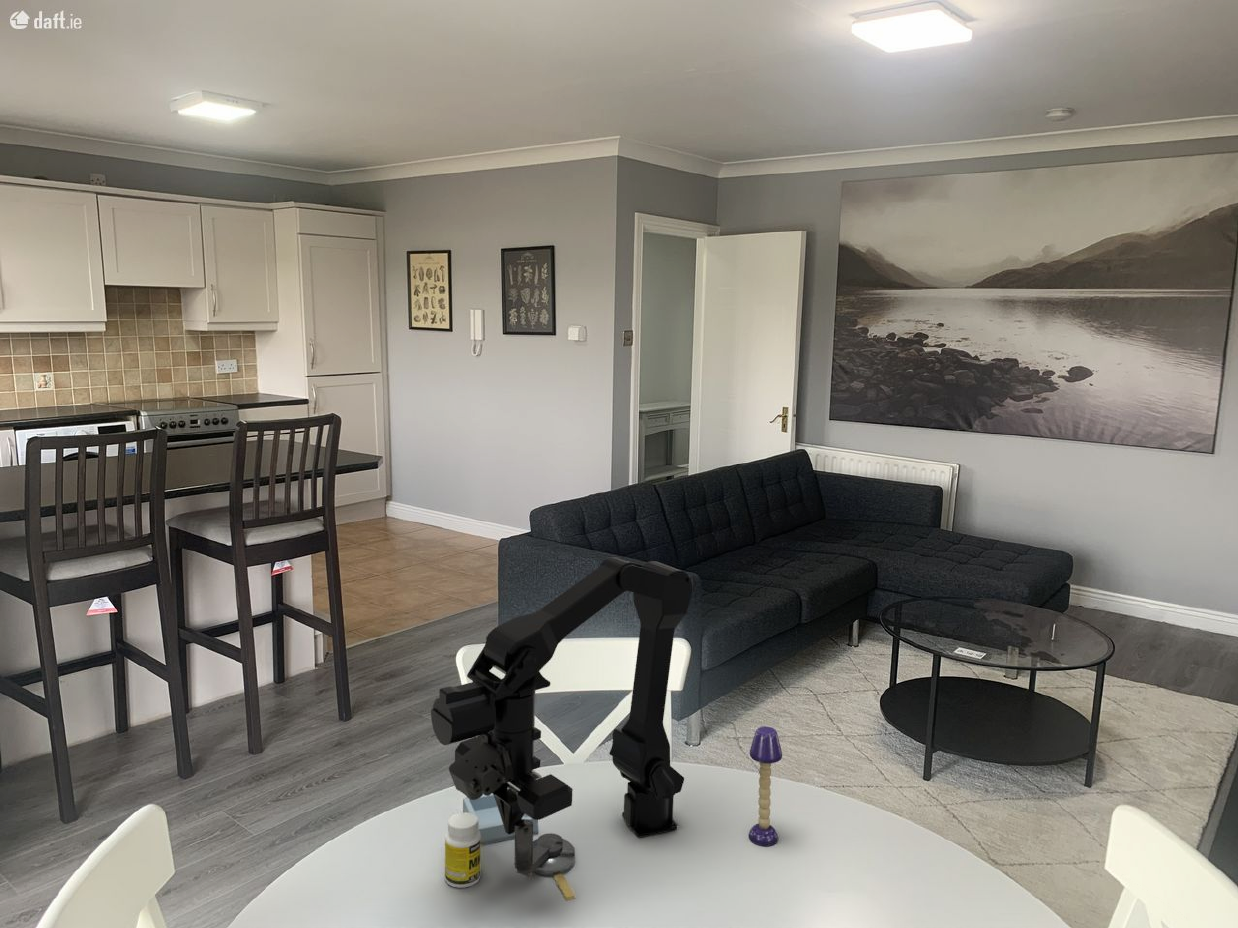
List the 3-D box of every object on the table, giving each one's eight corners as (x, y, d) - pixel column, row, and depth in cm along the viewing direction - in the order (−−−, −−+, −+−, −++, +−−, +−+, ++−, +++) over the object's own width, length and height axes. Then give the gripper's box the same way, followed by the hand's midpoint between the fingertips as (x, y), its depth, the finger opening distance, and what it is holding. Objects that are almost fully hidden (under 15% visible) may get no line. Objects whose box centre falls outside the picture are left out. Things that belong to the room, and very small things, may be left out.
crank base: (565, 842, 129) (565, 832, 129) (595, 893, 118) (596, 882, 118) (518, 852, 127) (518, 842, 126) (544, 905, 115) (544, 894, 115)
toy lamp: (741, 841, 131) (747, 733, 128) (749, 824, 135) (755, 720, 132) (774, 849, 129) (780, 740, 126) (781, 832, 133) (787, 726, 130)
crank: (545, 838, 127) (546, 791, 126) (567, 845, 125) (568, 798, 124) (507, 874, 118) (507, 824, 117) (529, 882, 117) (530, 832, 116)
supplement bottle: (473, 891, 118) (473, 832, 116) (439, 885, 119) (439, 827, 117) (485, 869, 122) (486, 812, 121) (453, 864, 123) (452, 808, 122)
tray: (520, 802, 139) (520, 787, 139) (537, 833, 131) (538, 817, 131) (462, 813, 136) (462, 797, 136) (477, 845, 128) (477, 829, 127)
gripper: (420, 714, 118) (420, 823, 121) (503, 771, 105) (501, 892, 108) (490, 692, 126) (489, 795, 128) (576, 743, 112) (573, 856, 115)
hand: (510, 832), depth 120 cm, fingers closed
